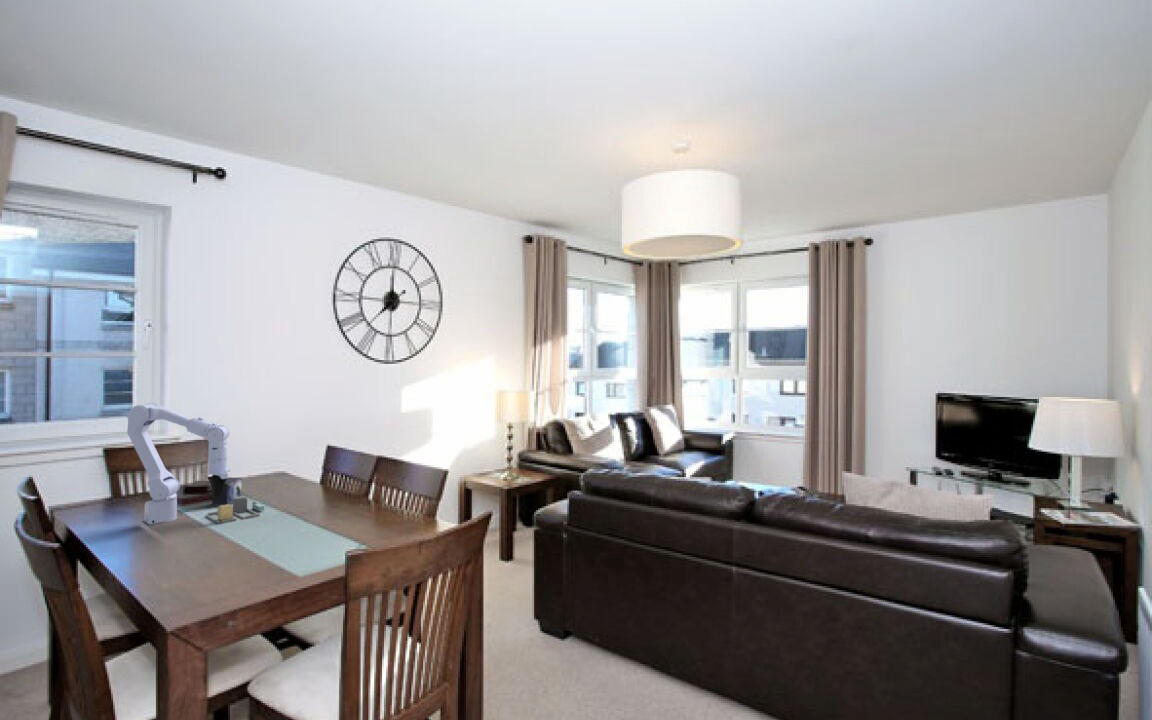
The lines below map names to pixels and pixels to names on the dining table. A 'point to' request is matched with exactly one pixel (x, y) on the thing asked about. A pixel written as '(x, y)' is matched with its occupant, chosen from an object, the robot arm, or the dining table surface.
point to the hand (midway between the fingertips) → (217, 495)
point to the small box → (228, 492)
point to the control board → (233, 517)
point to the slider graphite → (240, 504)
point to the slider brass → (225, 512)
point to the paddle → (257, 506)
